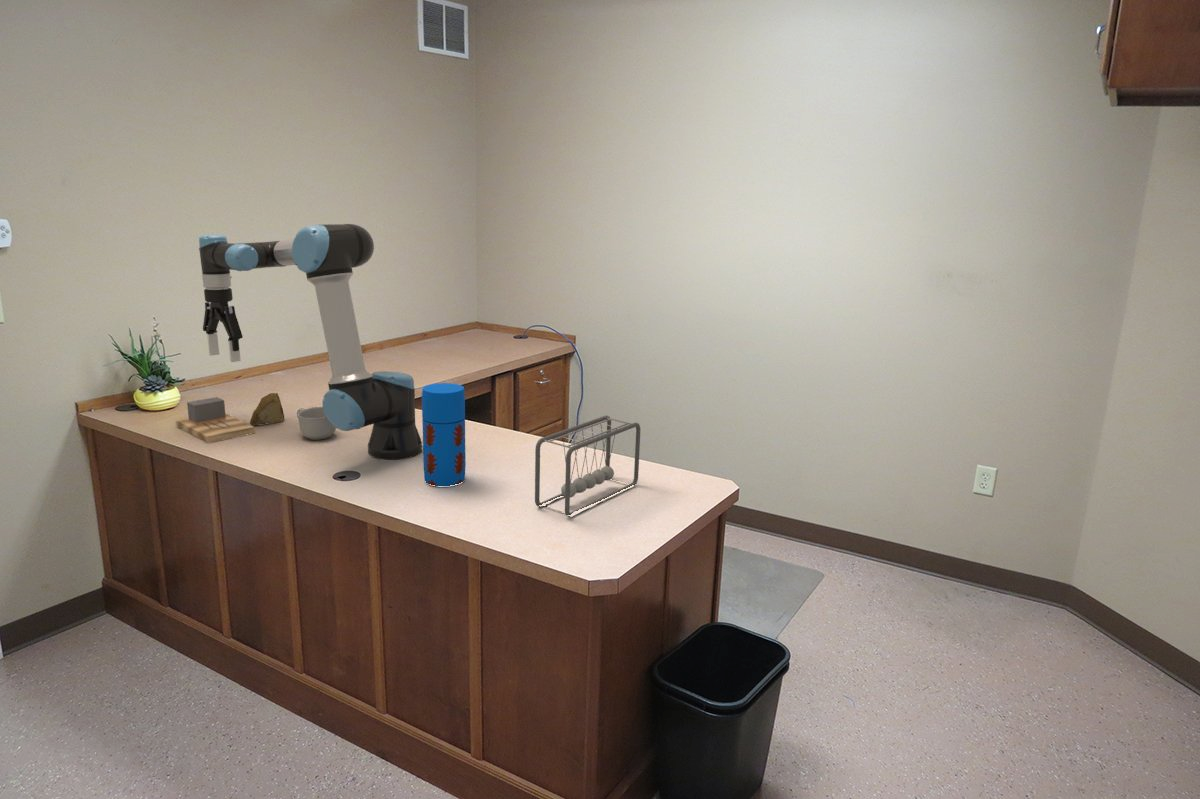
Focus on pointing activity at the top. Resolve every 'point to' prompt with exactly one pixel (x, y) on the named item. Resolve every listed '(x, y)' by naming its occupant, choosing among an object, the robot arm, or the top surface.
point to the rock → (268, 410)
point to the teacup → (315, 423)
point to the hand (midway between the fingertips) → (224, 358)
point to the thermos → (443, 433)
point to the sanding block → (206, 410)
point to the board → (216, 428)
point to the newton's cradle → (597, 475)
